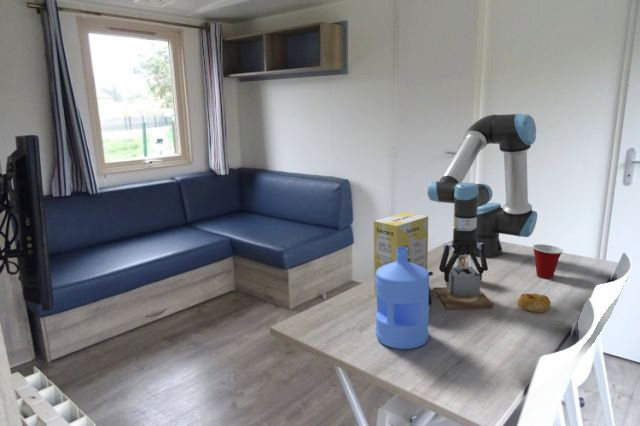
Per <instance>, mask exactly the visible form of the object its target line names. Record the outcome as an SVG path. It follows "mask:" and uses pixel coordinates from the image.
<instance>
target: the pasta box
mask: <svg viewBox="0 0 640 426" xmlns="http://www.w3.org/2000/svg"><path fill="white" fill-rule="evenodd" d="M428 245H429V216H428V215H424V214H423V215H422V214H417V213H411V212H407V211H405V212H402V213H398V214H394V215H391V216H387V217H384V218H380V219H376V220H373V266H374V267H373V268H374V271H373V275H374V277H373V279H374V280H373V283H374V286H373V287H374V288H373V289H374V290H373V291H374V294H375V295H376V286H375V277H376V271H377V269H378V268H380V267H381V266H384V265H387V264H390V263H393V262H396V261H397V248H398V247H406V248H408V250H407V254H408V257H407V260H408V262H410V263H413V264H415V265H418V266H421V267H423V268H425V269H426V270H427V271H428V260H429V259H428V252H429V251H428V249H429V248H428V247H429V246H428Z"/></svg>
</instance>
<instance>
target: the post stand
mask: <svg viewBox="0 0 640 426" xmlns="http://www.w3.org/2000/svg"><path fill="white" fill-rule="evenodd" d="M459 274H466V273H465V272H461V273H459ZM433 292H434V293H435V295H436V296H437V299H438V301H439V302H440V304H441V305H442V306H443V308H444V310H445V311H458V310H459V311H460V310H489V309H494V303H493V302H492V301H491V300H490V299H489V298H488V297H487V296H486V295H485V293H484V292H483V291H482V290H481V289H480V293H479V295H459V296H453V295H452V293H451V292H449V291H448V290H447V286H439V287H433Z"/></svg>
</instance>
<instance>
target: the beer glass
mask: <svg viewBox="0 0 640 426" xmlns="http://www.w3.org/2000/svg"><path fill="white" fill-rule="evenodd" d="M454 250H455V249H454V248H453V251H454ZM472 262H473V260H472V258H471V256H470V255H465V254H464V255H460V256H459V257H458V258H457V260H456V262H455V263H454V267H472V266H471V265H472Z"/></svg>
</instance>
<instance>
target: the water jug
mask: <svg viewBox="0 0 640 426" xmlns="http://www.w3.org/2000/svg"><path fill="white" fill-rule="evenodd" d="M407 250H408V248H406V247H398V248H397V261H396V262H393V263H390V264H387V265H384V266H381V267H380V268H378V269H377V271H376V277H375V286H376V294H375V295H376V314H375V336H376V339H377V340H378V341H379V342H380V343H381V344H383V345H384V346H387V347H389V348H392V349H398V350H411V349H416V348H419V347H422V346H423V345H425V344H426V342H427V341H428V339H429V313H430V307H429V286H430V276H429V273H428V272H429V271H428V269H427V270H426V269H425V268H423V267H421V266H418V265H415V264H413V263H410V262H408V260H407V257H408V254H407Z"/></svg>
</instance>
